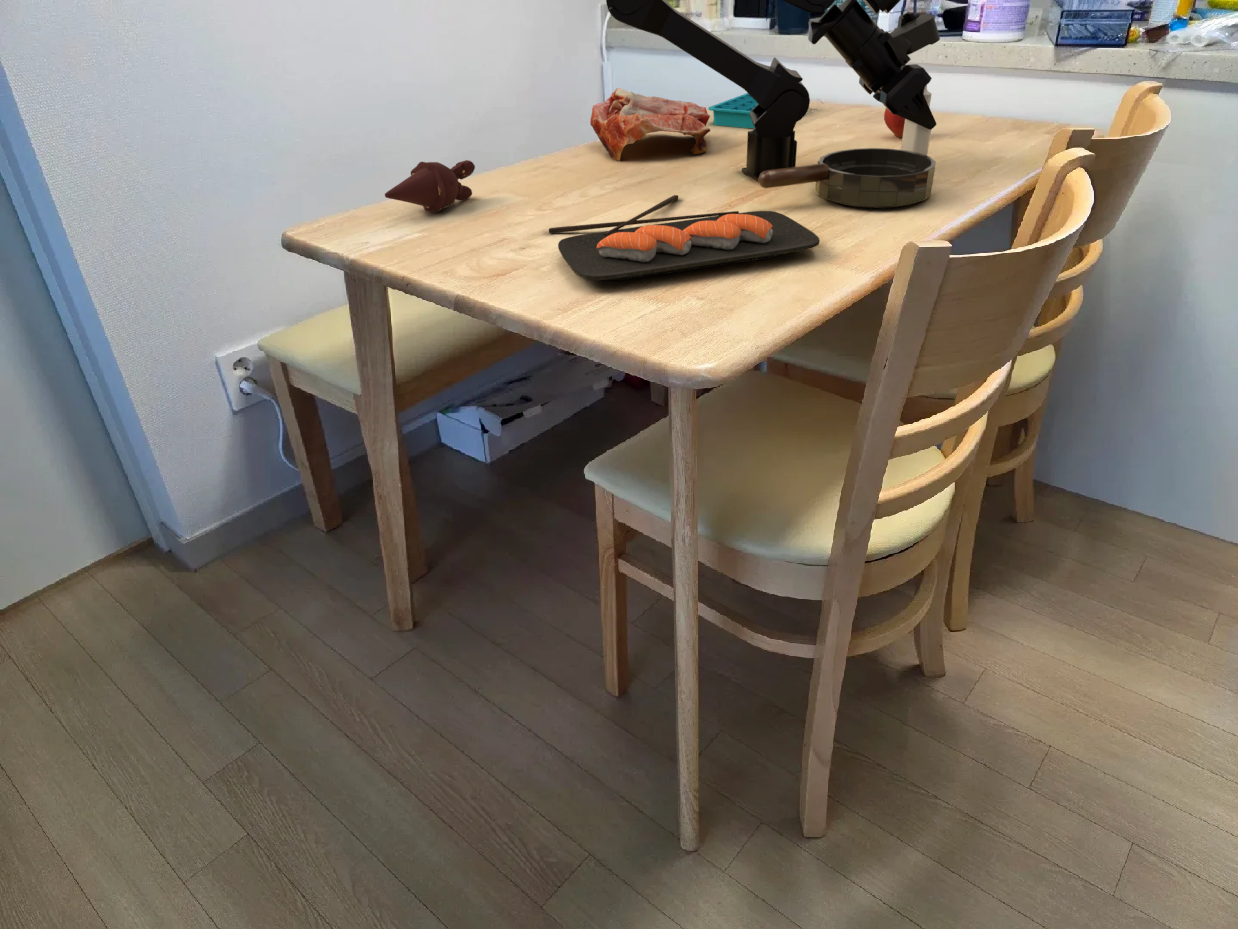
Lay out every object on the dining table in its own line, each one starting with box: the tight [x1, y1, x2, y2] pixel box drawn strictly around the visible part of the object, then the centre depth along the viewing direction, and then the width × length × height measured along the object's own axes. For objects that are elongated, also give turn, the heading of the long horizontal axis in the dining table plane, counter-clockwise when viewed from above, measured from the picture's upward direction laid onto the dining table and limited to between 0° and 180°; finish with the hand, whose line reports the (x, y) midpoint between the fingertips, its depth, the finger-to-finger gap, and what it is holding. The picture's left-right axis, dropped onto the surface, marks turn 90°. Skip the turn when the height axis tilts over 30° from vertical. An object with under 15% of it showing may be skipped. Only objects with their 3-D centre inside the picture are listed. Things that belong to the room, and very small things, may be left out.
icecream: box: [384, 159, 476, 214], centre depth 115 cm, size 7×7×15 cm
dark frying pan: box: [815, 147, 937, 209], centre depth 112 cm, size 15×15×4 cm
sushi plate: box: [548, 194, 821, 281], centre depth 102 cm, size 29×30×4 cm
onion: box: [883, 107, 905, 139], centre depth 139 cm, size 6×6×8 cm
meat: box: [589, 87, 711, 162], centre depth 140 cm, size 21×21×10 cm
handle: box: [757, 163, 830, 189], centre depth 109 cm, size 10×2×2 cm, turn 107°
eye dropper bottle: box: [900, 84, 932, 156], centre depth 120 cm, size 4×6×12 cm
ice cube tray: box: [708, 92, 758, 130], centre depth 159 cm, size 12×20×3 cm, turn 145°
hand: (928, 122), depth 120 cm, fingers closed on eye dropper bottle, 5 cm apart
